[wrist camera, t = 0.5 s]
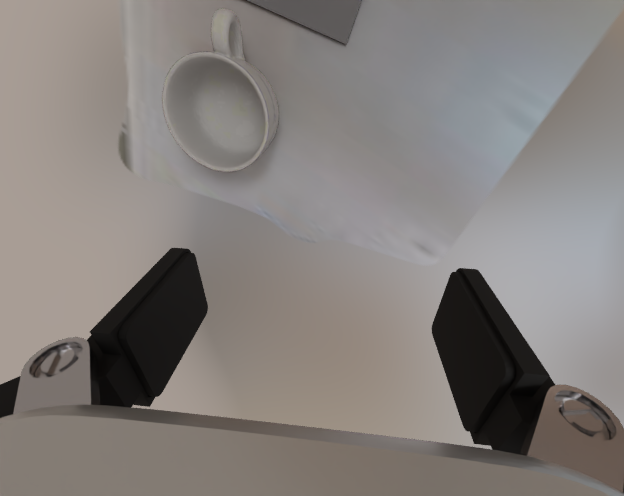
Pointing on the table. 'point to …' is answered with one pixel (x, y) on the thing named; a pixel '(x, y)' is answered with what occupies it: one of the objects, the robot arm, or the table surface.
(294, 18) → the mat
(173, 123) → the teacup
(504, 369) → the robot arm
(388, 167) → the table surface
